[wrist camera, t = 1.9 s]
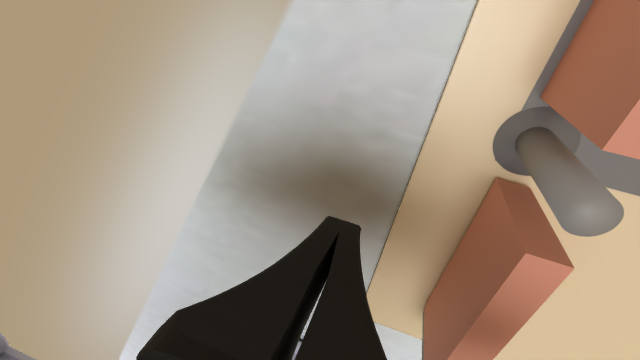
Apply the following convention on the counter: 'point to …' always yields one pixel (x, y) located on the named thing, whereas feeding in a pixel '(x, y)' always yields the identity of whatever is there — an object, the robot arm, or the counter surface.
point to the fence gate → (494, 278)
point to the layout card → (504, 163)
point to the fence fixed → (590, 117)
